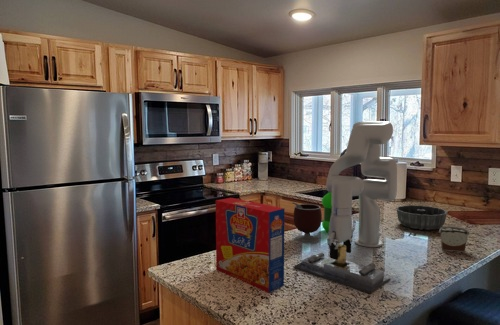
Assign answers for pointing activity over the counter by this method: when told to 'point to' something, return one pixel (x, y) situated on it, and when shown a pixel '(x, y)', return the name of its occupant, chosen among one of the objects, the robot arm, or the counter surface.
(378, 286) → the gray slotted panel
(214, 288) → the counter surface
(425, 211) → the bundt pan
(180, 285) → the counter surface
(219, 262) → the pasta box
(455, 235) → the food container
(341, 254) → the brass pin
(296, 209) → the mate gourd
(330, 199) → the plastic bottle
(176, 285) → the counter surface
